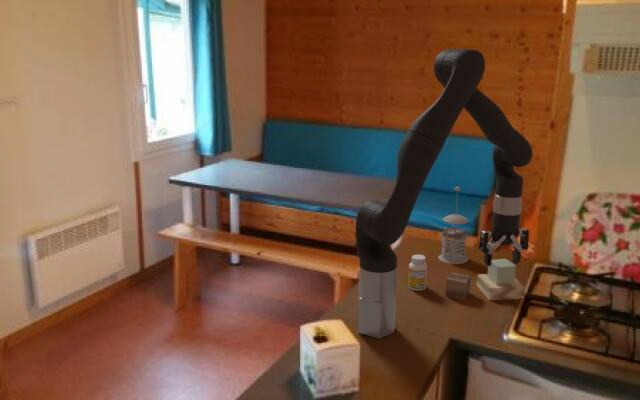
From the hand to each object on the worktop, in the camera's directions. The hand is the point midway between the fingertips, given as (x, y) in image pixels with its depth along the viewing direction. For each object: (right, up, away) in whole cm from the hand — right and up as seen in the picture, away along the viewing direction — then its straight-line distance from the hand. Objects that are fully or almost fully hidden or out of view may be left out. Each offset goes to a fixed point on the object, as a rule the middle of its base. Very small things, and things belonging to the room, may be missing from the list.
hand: (501, 264), depth 164 cm
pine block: (0, -9, +2) cm, 9 cm away
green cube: (0, -5, +1) cm, 5 cm away
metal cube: (-13, -9, +1) cm, 15 cm away
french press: (-8, -2, +27) cm, 28 cm away
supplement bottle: (-23, -8, +6) cm, 25 cm away
